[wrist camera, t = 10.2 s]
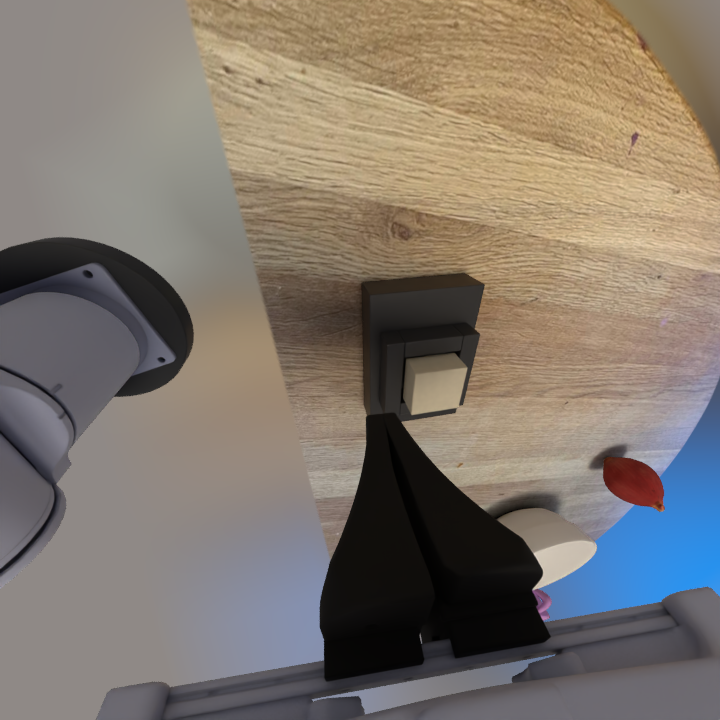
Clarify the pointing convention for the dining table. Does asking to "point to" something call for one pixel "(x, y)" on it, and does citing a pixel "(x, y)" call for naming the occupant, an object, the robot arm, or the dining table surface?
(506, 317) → the dining table surface
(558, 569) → the bowl
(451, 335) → the switch plate
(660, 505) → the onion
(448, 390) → the switch
